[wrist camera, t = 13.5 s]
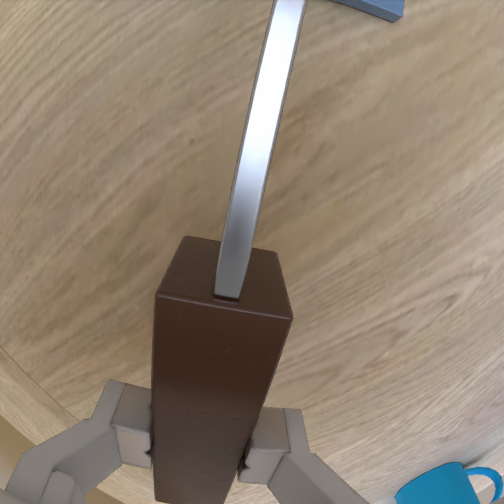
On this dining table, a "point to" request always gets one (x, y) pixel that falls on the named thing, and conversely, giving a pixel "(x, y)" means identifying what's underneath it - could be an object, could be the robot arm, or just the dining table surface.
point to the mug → (447, 486)
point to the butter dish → (378, 7)
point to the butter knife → (223, 309)
